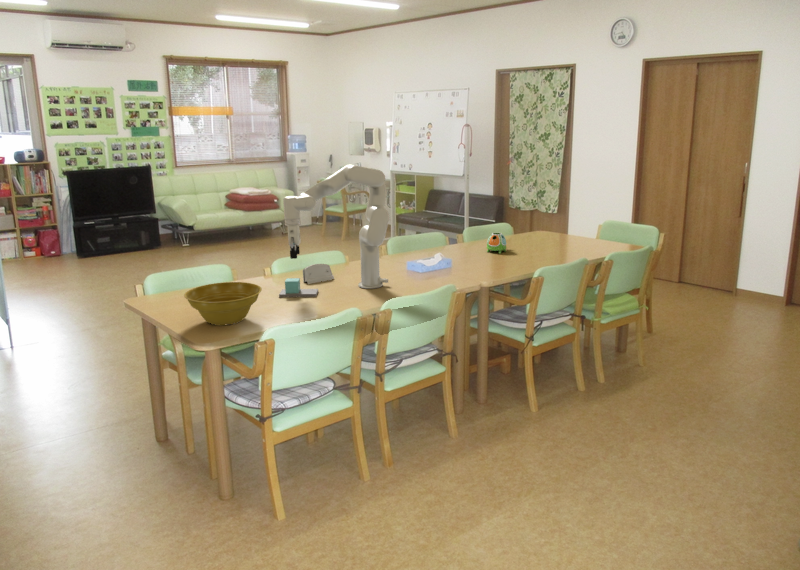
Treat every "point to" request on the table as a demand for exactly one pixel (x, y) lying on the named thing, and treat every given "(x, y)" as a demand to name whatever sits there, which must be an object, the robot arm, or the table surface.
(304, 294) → the base plate
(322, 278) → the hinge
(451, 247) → the table surface
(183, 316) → the table surface
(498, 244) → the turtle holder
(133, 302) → the table surface
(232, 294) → the planter bowl
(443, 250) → the table surface
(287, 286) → the housing
